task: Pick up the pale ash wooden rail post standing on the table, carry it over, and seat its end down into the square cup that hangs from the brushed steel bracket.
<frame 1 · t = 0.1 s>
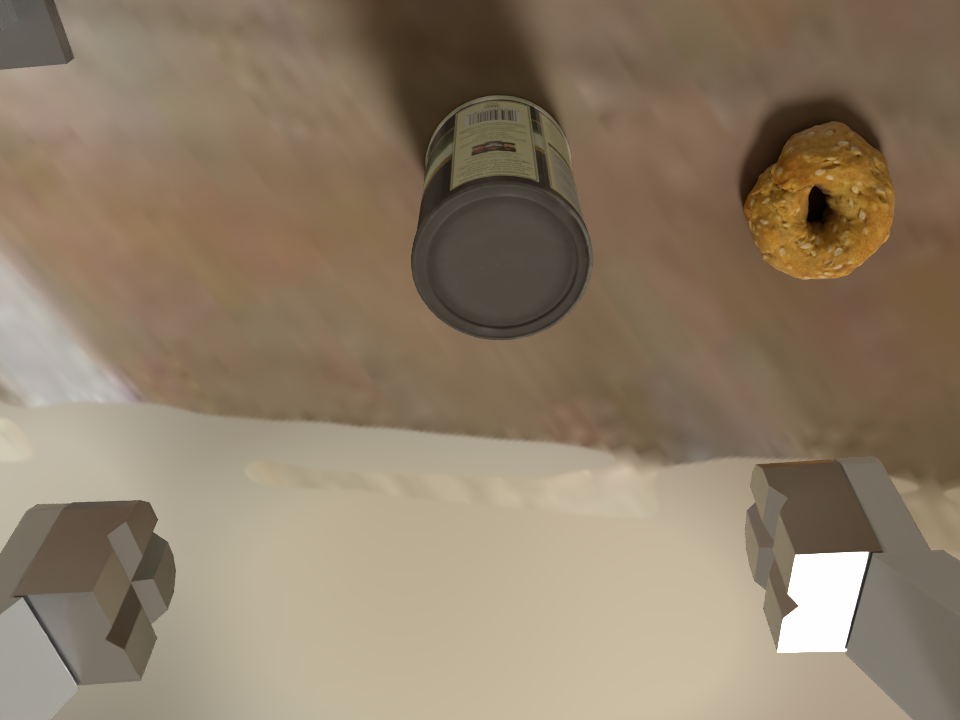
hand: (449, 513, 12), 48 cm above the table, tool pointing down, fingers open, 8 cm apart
coffee can: (499, 165, 60), on the table
bagel: (810, 191, 61), on the table
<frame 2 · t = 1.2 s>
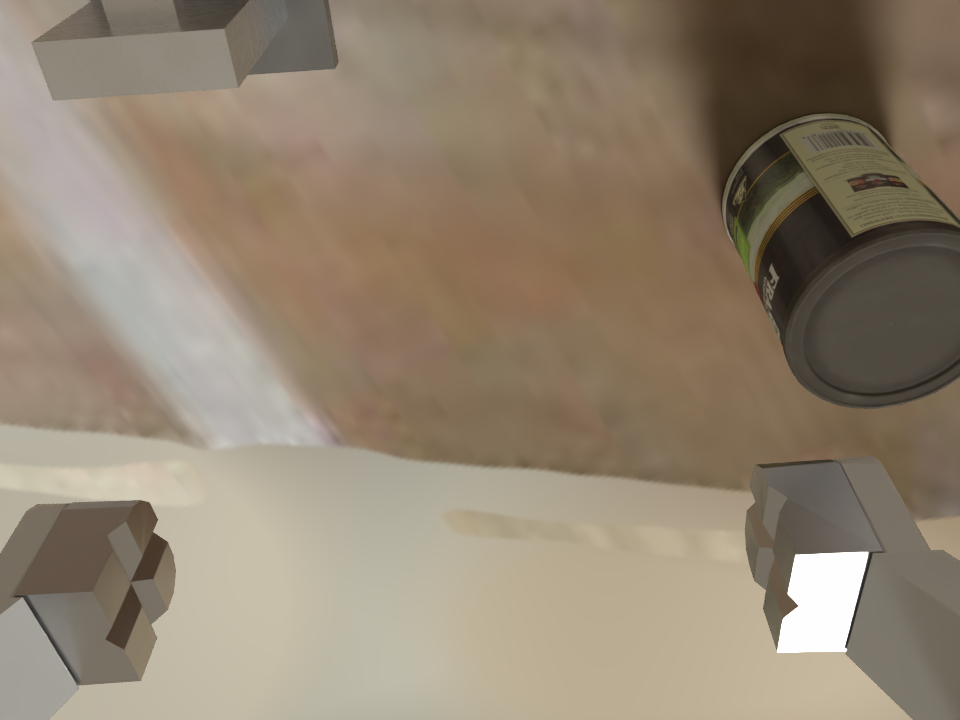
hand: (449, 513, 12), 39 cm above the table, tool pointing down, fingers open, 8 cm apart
coffee can: (807, 193, 51), on the table
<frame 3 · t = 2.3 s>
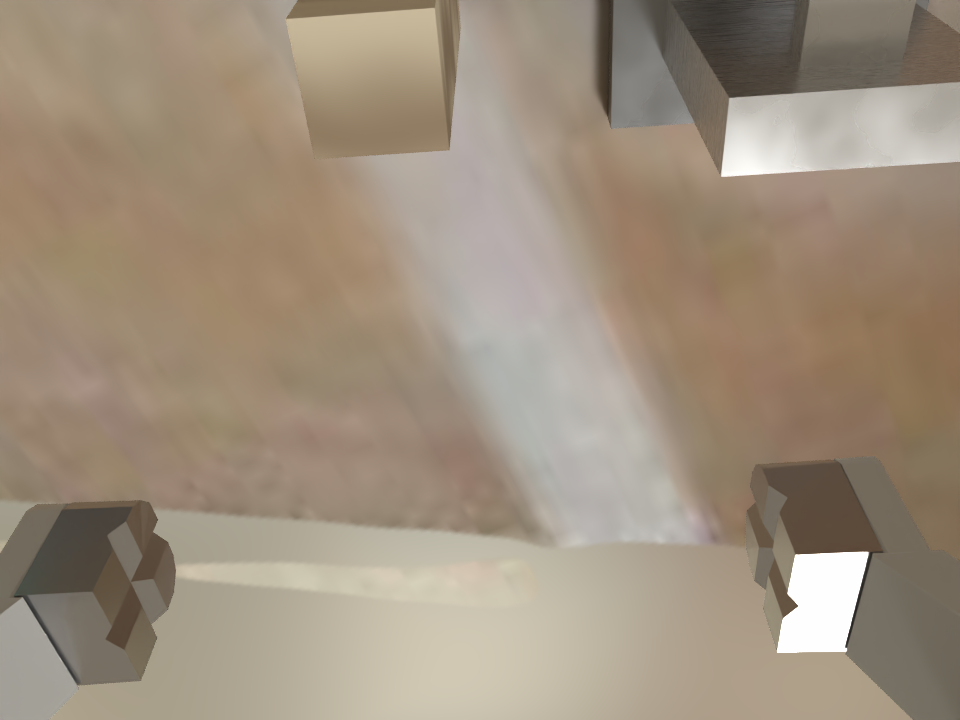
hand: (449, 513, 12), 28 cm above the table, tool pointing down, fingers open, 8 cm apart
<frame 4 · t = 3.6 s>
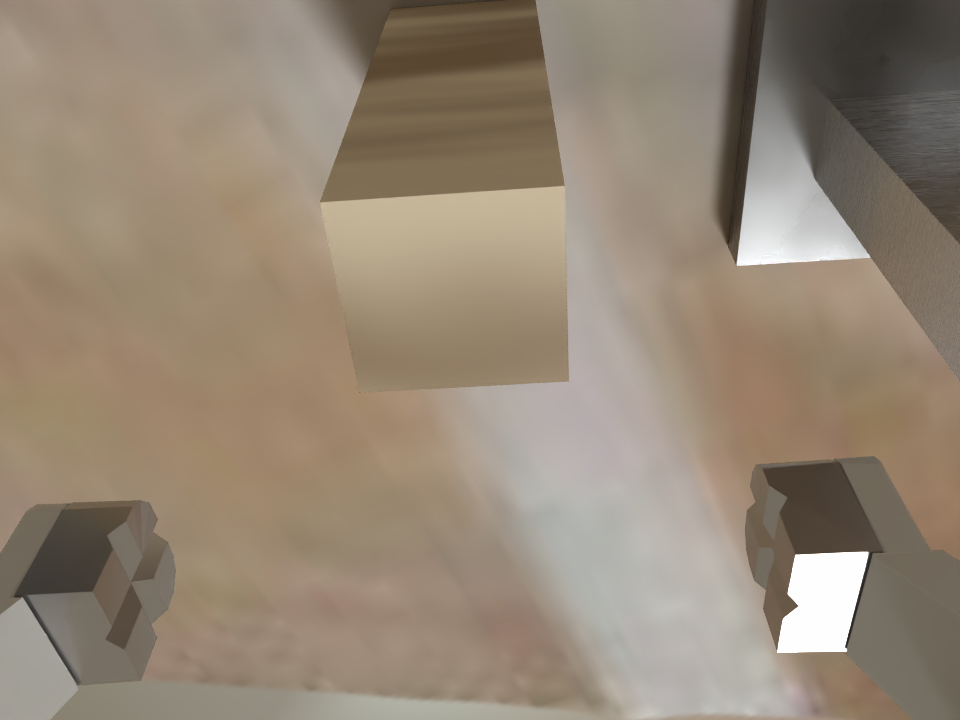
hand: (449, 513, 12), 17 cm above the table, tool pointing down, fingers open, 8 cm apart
rail post: (468, 75, 25), on the table
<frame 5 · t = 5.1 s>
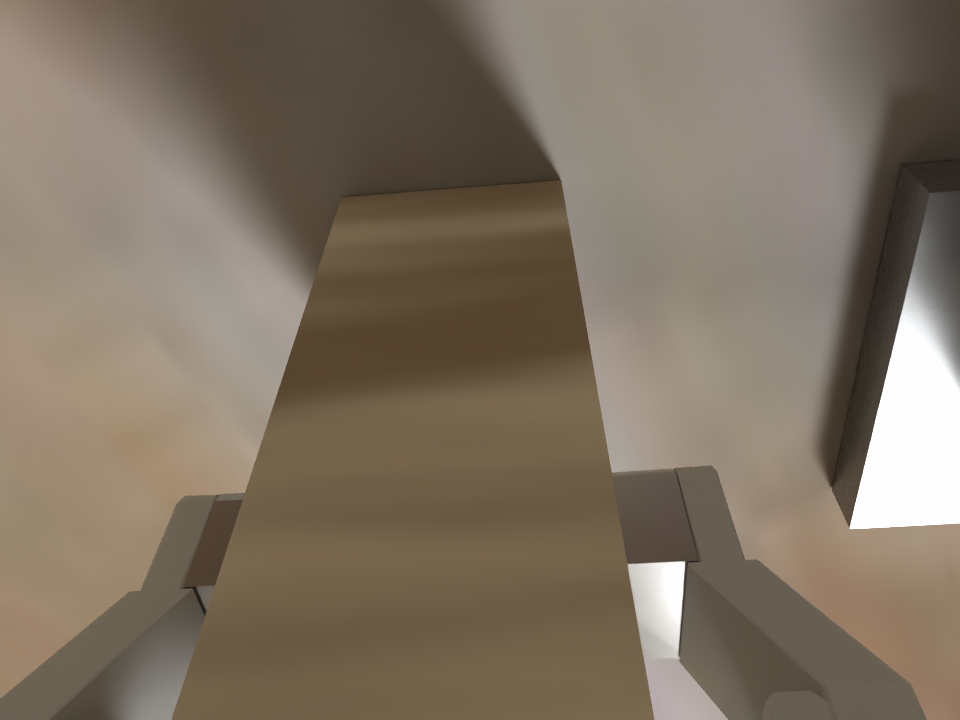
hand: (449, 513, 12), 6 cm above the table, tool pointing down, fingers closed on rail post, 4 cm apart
rail post: (461, 283, 17), on the table, touching gripper
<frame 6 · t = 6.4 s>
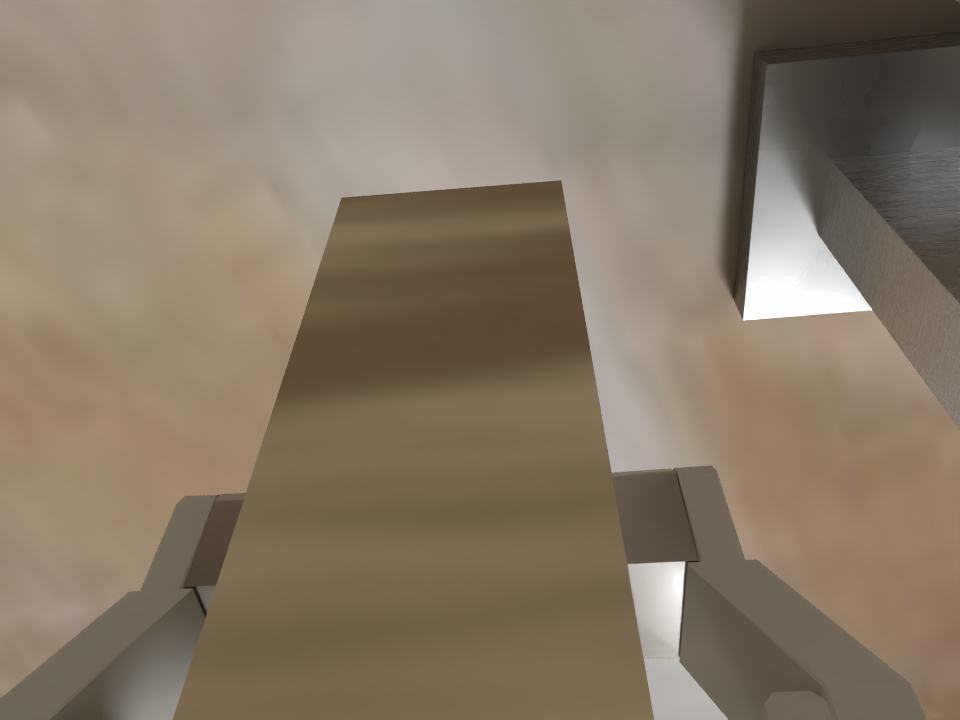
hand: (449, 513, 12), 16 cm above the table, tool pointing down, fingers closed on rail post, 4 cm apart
rail post: (461, 284, 17), point 10 cm above the table, touching gripper
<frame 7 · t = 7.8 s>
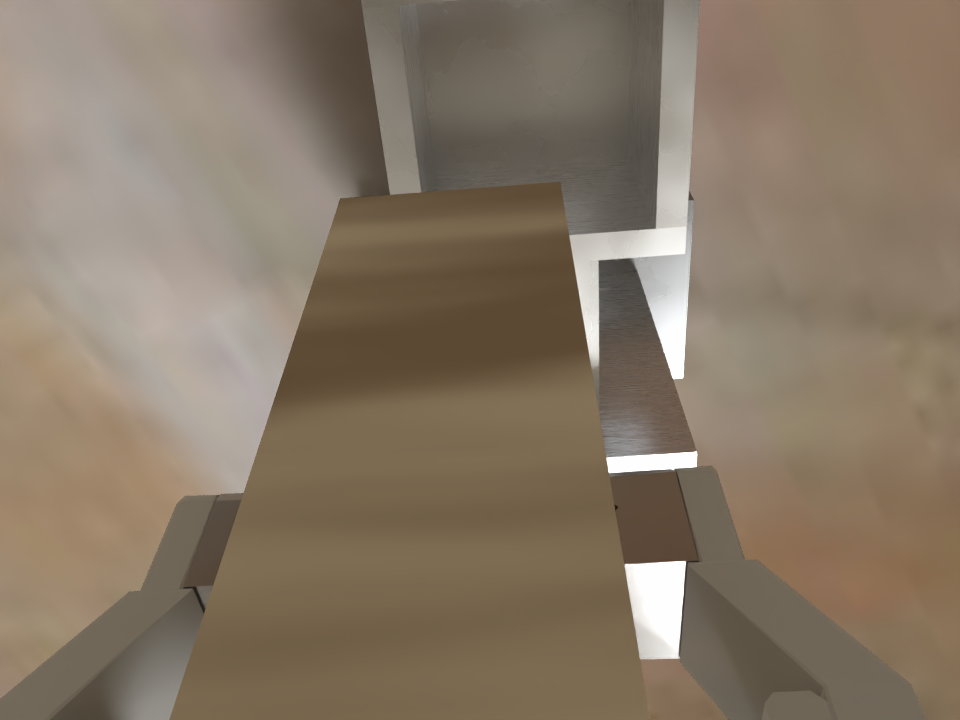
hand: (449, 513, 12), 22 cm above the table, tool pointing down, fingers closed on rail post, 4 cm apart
cup bracket: (520, 30, 29), on the table
rail post: (460, 285, 17), point 16 cm above the table, touching gripper
when the fingers open (12 cm above the table, at t = 10.5 s): rail post stays where it is, resting on cup bracket.
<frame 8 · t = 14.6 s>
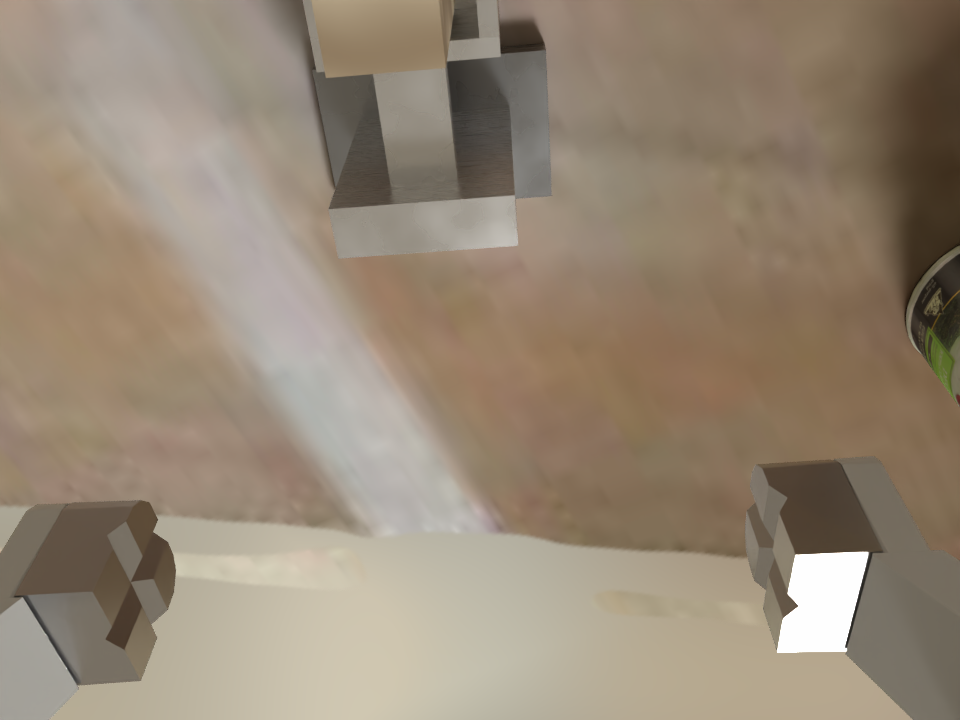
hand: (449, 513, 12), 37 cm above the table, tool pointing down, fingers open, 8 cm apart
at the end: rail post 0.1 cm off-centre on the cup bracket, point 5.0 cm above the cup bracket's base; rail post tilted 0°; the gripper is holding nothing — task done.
